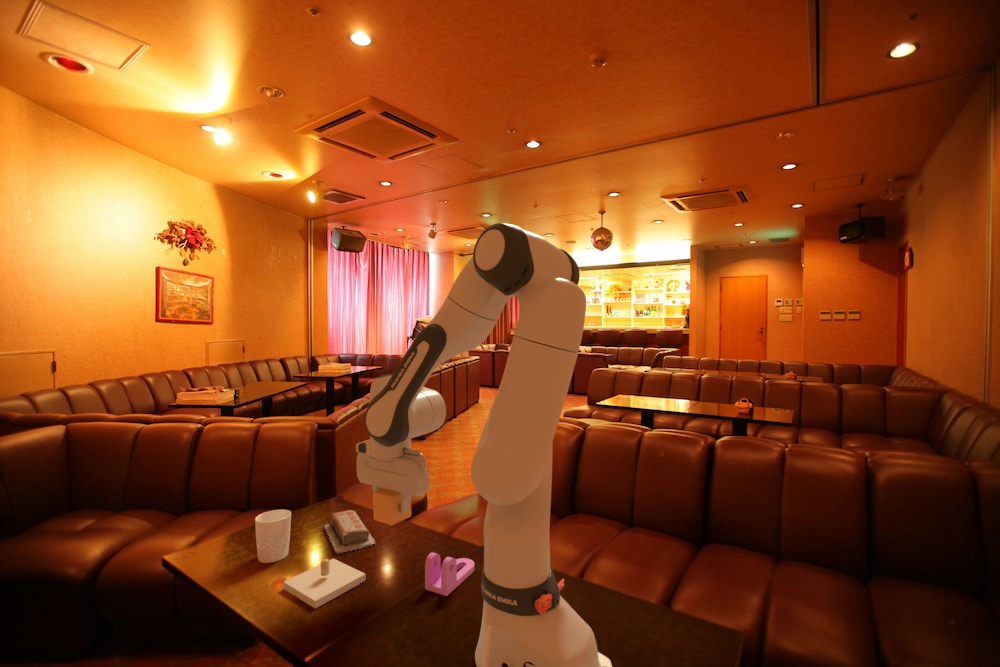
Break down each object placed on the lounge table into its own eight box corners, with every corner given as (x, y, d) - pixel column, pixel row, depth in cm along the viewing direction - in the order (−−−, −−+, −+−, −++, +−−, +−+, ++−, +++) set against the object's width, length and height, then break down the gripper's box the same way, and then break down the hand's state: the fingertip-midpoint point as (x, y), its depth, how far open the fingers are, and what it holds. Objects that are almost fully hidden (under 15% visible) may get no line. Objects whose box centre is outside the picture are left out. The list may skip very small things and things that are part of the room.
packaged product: (323, 513, 122) (359, 505, 127) (323, 530, 122) (359, 522, 127) (335, 537, 107) (376, 528, 112) (335, 557, 107) (376, 547, 112)
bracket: (446, 597, 89) (446, 563, 89) (425, 590, 92) (424, 557, 92) (478, 567, 101) (478, 537, 101) (458, 561, 103) (458, 532, 103)
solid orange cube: (411, 516, 97) (410, 489, 97) (391, 525, 92) (390, 497, 92) (394, 510, 100) (393, 484, 100) (373, 519, 95) (373, 492, 95)
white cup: (266, 567, 101) (266, 525, 101) (248, 559, 105) (248, 518, 105) (297, 553, 108) (297, 513, 108) (279, 546, 112) (279, 507, 112)
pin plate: (365, 580, 95) (365, 555, 95) (315, 608, 85) (315, 580, 85) (333, 564, 102) (333, 541, 102) (283, 588, 92) (283, 562, 92)
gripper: (434, 448, 93) (436, 512, 93) (373, 438, 105) (374, 495, 104) (413, 454, 88) (414, 523, 87) (351, 444, 100) (352, 504, 99)
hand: (392, 508), depth 96 cm, fingers closed on solid orange cube, 6 cm apart
